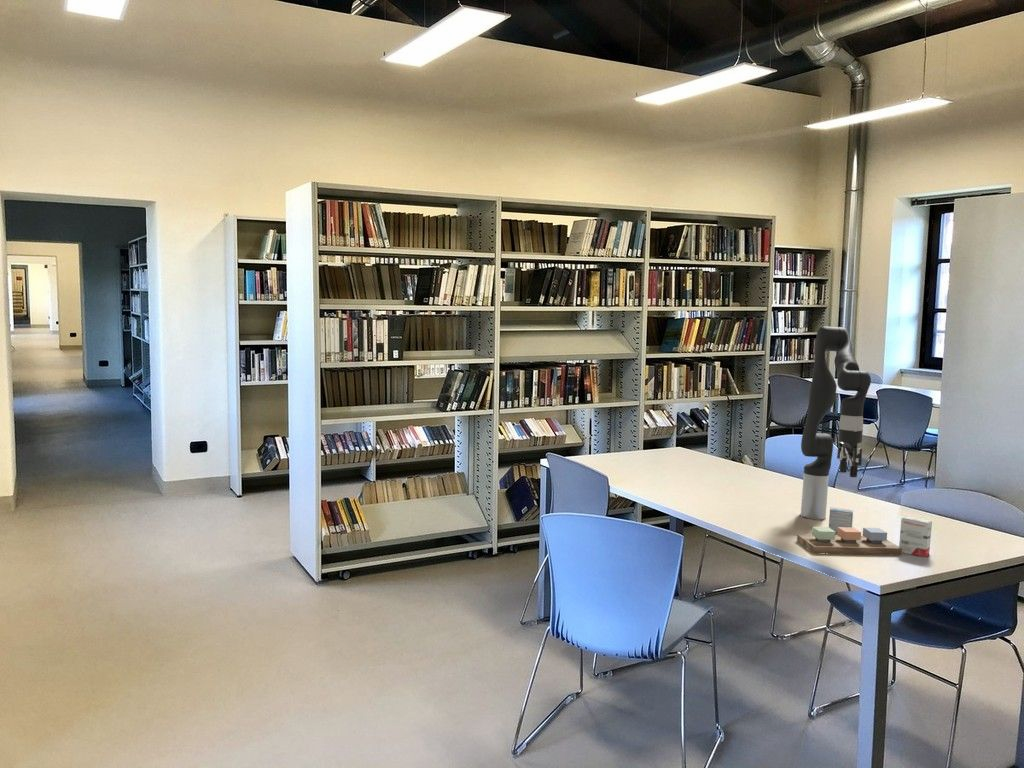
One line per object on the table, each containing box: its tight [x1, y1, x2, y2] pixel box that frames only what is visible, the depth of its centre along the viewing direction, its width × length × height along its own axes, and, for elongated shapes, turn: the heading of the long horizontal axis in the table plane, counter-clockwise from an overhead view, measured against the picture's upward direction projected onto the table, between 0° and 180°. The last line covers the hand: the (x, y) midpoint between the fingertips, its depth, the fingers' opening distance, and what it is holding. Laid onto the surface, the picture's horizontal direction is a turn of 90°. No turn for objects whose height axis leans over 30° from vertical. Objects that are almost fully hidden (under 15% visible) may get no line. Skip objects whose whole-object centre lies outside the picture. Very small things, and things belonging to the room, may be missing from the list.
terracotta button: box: [836, 526, 862, 540], centre depth 271 cm, size 6×6×3 cm
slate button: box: [862, 527, 888, 541], centre depth 271 cm, size 6×6×3 cm
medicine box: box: [828, 506, 854, 534], centre depth 290 cm, size 8×4×9 cm, turn 66°
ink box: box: [898, 516, 933, 558], centre depth 267 cm, size 8×5×12 cm, turn 47°
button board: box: [796, 534, 903, 556], centre depth 271 cm, size 14×30×4 cm, turn 92°
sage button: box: [811, 526, 836, 540], centre depth 270 cm, size 6×6×3 cm
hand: (848, 474), depth 274 cm, fingers open, 8 cm apart
